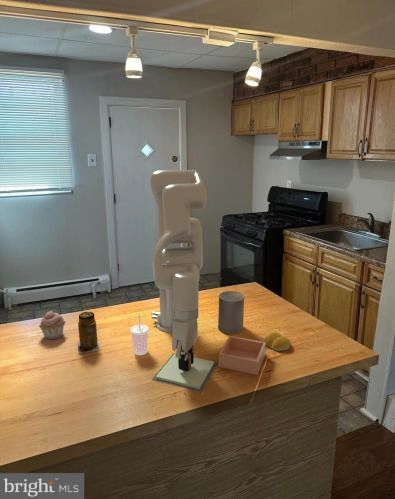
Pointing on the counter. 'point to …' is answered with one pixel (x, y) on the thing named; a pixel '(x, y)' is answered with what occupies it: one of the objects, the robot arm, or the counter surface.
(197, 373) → the lid
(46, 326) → the cupcake
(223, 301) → the pillar candle
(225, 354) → the open box
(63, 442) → the counter surface
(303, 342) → the counter surface
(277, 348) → the bread roll
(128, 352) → the counter surface
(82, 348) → the condiment
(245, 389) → the counter surface
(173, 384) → the mat
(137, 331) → the beverage cup
